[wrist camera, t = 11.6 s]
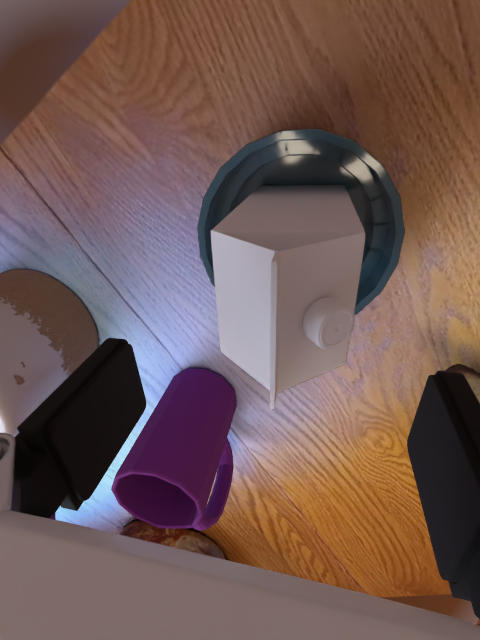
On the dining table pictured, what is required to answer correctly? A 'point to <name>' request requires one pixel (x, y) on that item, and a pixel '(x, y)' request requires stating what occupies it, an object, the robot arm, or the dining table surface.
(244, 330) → the milk carton
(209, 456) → the mug
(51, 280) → the vase
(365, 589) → the dining table surface
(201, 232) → the shallow pet bowl
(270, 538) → the dining table surface
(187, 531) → the bread
